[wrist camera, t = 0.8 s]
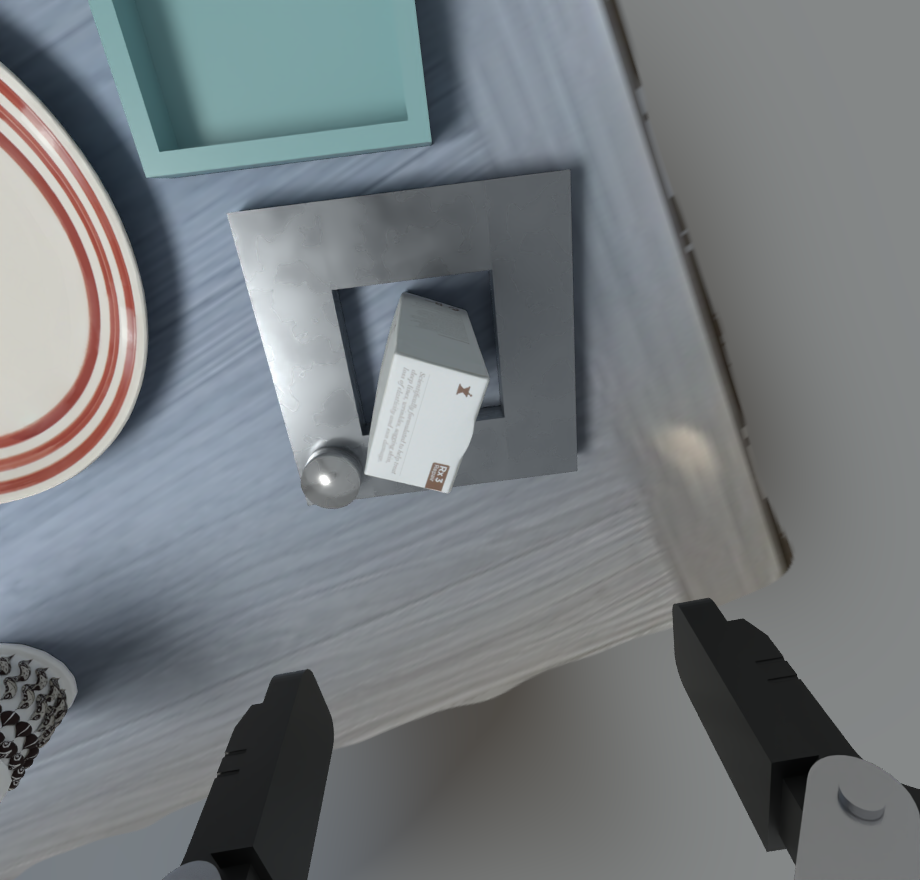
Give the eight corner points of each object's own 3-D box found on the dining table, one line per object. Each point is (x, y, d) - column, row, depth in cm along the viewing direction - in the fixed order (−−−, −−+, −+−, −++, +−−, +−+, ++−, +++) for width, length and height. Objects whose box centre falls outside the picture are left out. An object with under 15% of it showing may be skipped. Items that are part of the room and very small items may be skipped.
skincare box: (400, 289, 32) (386, 343, 21) (471, 310, 33) (494, 372, 22) (376, 383, 35) (353, 475, 24) (443, 401, 35) (451, 498, 24)
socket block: (313, 490, 38) (302, 518, 34) (238, 211, 30) (215, 214, 27) (570, 457, 38) (583, 483, 34) (561, 170, 30) (578, 168, 27)
